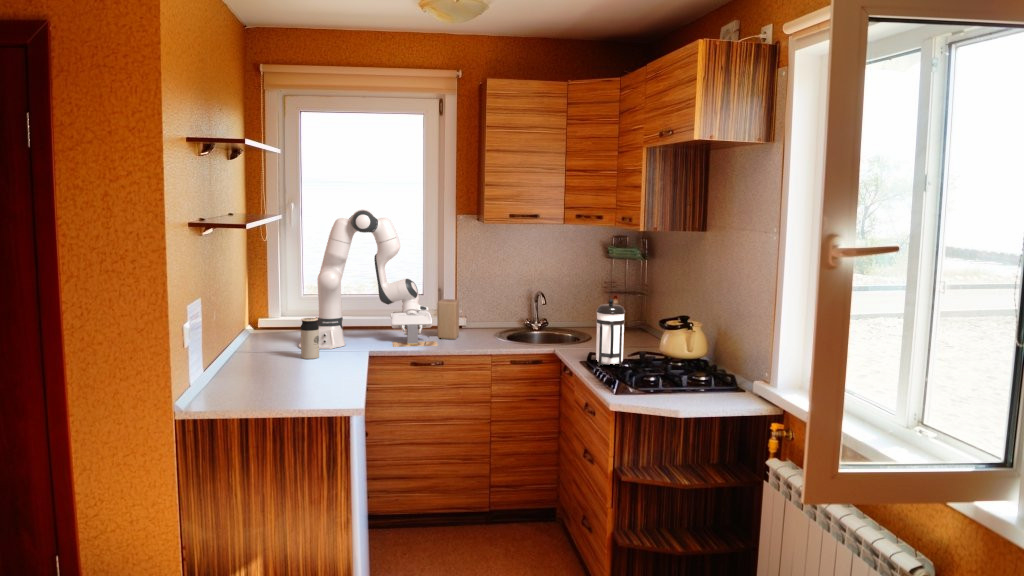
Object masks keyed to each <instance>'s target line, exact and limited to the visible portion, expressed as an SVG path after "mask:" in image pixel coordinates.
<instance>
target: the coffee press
mask: <svg viewBox="0 0 1024 576" xmlns="http://www.w3.org/2000/svg"><path fill="white" fill-rule="evenodd" d="M614 302H615V301H614V299H613V298H610V299H608V303H603V304H600V305H599V306H598V307H597V309H595V312H596V319H595V320H596V321H595V322H596V341H595V343H596V345H595V351H596V352H595V361H596V360H597V362H598V363H596V366H597V365H598V366H600V365H602V366H603V365H610V364H613V365H615V364H619V365H620V366H621V365H623V366H624V364H623V361H624V339H625V338H624V337H625V336H624V333H625V323H626V322H625V321H626V320H625V314H626V310H625V308H624V306H622V305H620V304H616V303H614Z"/></svg>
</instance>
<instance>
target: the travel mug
mask: <svg viewBox="0 0 1024 576" xmlns="http://www.w3.org/2000/svg"><path fill="white" fill-rule="evenodd" d="M300 320H301V325H300V343H301V348H300V349H301V350H300V352H301V353H300V354H301V355H300V357H301V358H302V359H304V360H315V359H318V358H319V357H320V349H319V325H318V324H317V320H318V318H315V317H303V318H301V319H300Z"/></svg>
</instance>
